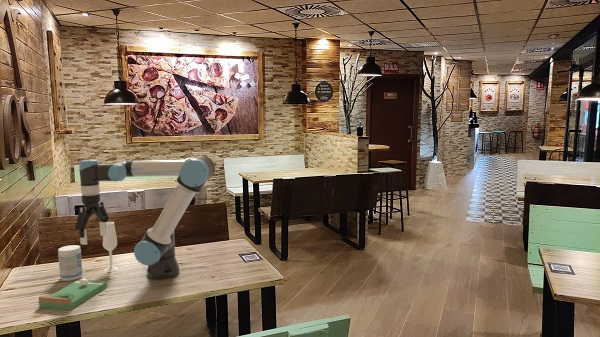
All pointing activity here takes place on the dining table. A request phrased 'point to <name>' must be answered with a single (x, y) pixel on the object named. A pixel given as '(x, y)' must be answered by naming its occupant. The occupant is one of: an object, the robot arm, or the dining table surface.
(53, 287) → the dining table surface
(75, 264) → the supplement tub
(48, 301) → the green game board
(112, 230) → the champagne flute
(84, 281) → the ball
